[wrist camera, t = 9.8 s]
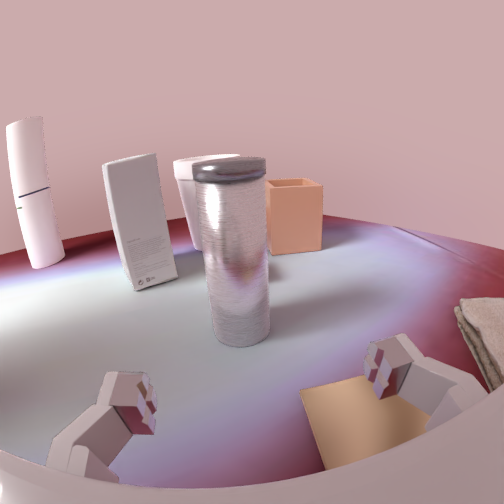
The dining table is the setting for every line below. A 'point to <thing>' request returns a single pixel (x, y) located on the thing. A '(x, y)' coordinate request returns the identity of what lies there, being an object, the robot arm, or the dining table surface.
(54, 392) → the dining table surface
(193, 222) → the foam cup
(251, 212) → the tin canister
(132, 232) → the skincare box
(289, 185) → the terracotta planter
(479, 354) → the washcloth
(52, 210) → the cylindrical container
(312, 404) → the cork coaster
